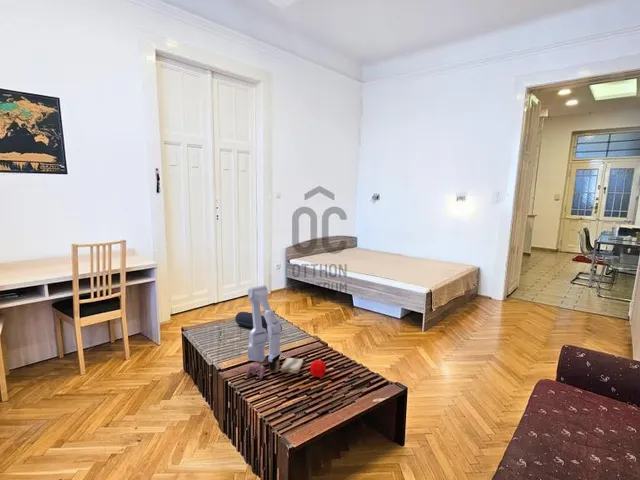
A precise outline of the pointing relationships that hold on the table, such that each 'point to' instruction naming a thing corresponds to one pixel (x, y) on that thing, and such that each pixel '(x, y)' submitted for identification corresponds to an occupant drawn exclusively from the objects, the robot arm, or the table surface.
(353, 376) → the table surface
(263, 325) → the portable speaker
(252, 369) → the video game controller
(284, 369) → the shallow cream tray
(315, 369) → the ball
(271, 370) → the walnut block
